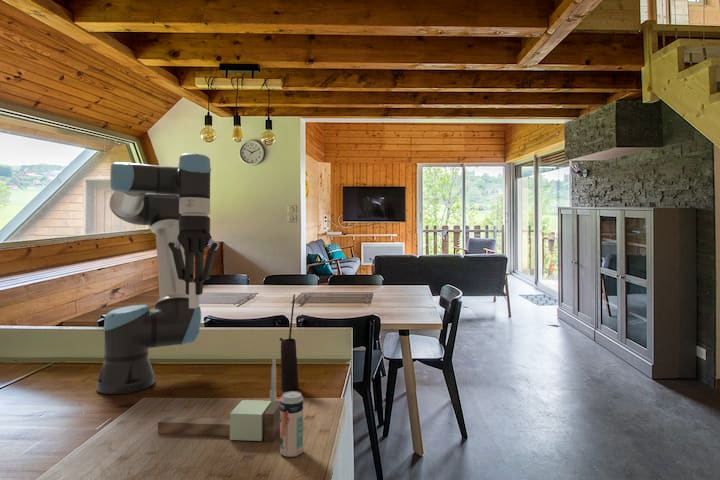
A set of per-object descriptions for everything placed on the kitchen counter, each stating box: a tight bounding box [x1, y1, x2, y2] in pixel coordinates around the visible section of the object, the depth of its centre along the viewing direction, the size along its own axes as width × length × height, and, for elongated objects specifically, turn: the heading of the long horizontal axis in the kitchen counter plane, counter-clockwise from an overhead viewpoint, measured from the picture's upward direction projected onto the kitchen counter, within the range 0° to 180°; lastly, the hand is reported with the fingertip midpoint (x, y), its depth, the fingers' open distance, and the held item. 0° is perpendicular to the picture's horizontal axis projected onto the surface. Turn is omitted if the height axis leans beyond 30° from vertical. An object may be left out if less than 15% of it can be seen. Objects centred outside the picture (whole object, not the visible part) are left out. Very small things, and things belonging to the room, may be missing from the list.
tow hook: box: [265, 356, 282, 403], centre depth 113 cm, size 9×14×10 cm
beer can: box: [279, 391, 304, 458], centre depth 89 cm, size 5×5×12 cm
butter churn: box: [279, 294, 300, 393], centre depth 126 cm, size 9×10×28 cm
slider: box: [229, 399, 272, 442], centre depth 97 cm, size 7×8×6 cm
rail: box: [157, 402, 280, 443], centre depth 98 cm, size 27×7×6 cm, turn 86°
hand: (194, 307), depth 110 cm, fingers closed
